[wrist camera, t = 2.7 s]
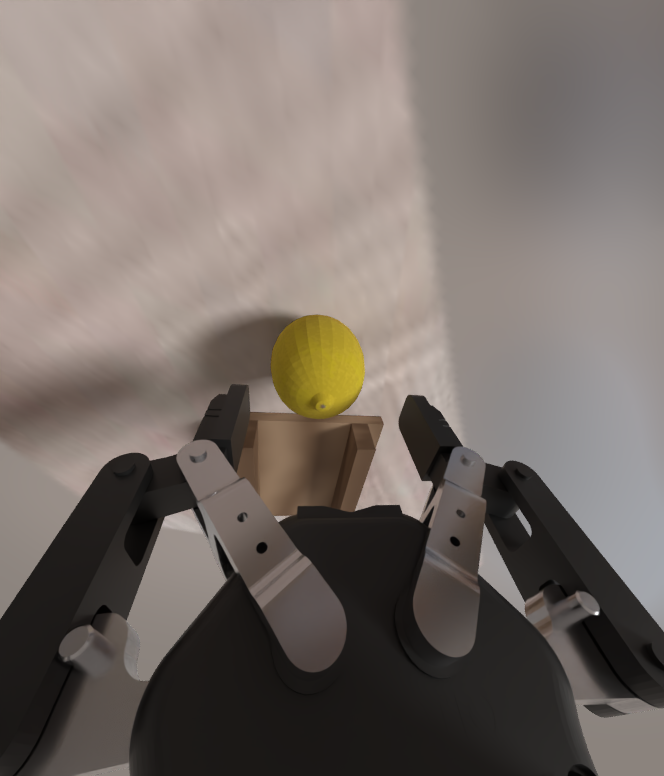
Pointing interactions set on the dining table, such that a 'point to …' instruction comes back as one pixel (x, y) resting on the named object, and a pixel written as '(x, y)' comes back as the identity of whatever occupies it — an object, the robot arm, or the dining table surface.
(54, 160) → the dining table surface
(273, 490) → the cradle
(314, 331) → the lemon
